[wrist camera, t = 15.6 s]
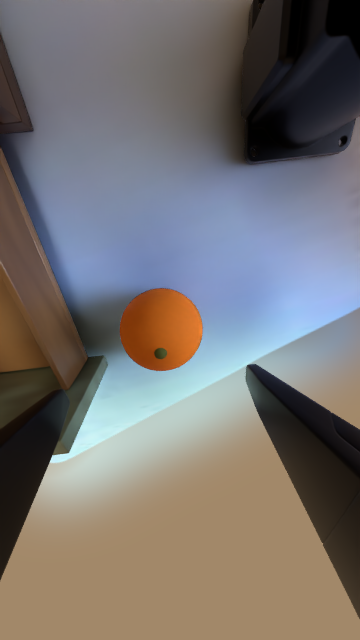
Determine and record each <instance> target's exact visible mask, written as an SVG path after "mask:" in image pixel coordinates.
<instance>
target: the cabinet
mask: <svg viewBox="0 0 360 640" xmlns="http://www.w3.org/2000/svg"><path fill="white" fill-rule="evenodd" d="M32 130H33V128H32V125H31V122H30V119H29V116H28V113H27V111H26V108H25V105H24V102H23V99H22V96H21V93H20V90H19V87H18V84H17V81H16V79H15V76H14V73H13V70H12V67H11V64H10V61H9V58H8V55H7V52H6V50H5V47H4V44H3V41H2V38H1V35H0V134H6V133H14V132H23V131H32Z"/></svg>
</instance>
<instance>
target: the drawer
mask: <svg viewBox="0 0 360 640" xmlns="http://www.w3.org/2000/svg"><path fill="white" fill-rule="evenodd" d="M107 366H108V364H107V361H106V358H105V356H104V355H102V356H94V357H88V356H87V353H86V351H85V348H84V346H83V344H82V341H81V339H80V336H79V334H78V332H77V329H76V327H75V324H74V322H73V320H72V317H71V315H70V312H69V310H68V308H67V305H66V303H65V300H64V298H63V296H62V293H61V291H60V288H59V286H58V283H57V281H56V279H55V276H54V274H53V271H52V269H51V267H50V264H49V262H48V259H47V257H46V255H45V252H44V250H43V247H42V245H41V243H40V240H39V238H38V235H37V233H36V231H35V228H34V226H33V223H32V221H31V219H30V216H29V214H28V211H27V209H26V207H25V204H24V202H23V199H22V197H21V194H20V192H19V190H18V187H17V185H16V182H15V180H14V178H13V175H12V173H11V170H10V168H9V166H8V163H7V161H6V158H5V156H4V154H3V151H2V149H1V146H0V429H1V428H2V427H3V426H5V425H6V424H8V423H9V422H10V421H12V420H13V419H14V418H16V417H17V416H18V415H20V414H21V413H23V412H24V411H25V410H27V409H28V408H29V407H31V406H32V405H33V404H35V403H36V402H38V401H39V400H40V399H42V398H43V397H44V396H46V395H47V394H48V393H50V392H51V391H53V390H56V389H63V390H64V391H65V392H66V394H67V396H68V398H69V400H70V406H69V409H68V413H67V416H66V419H65V422H64V425H63V429H62V432H61V435H60V438H59V440H58V443H57V445H56V448H55V450H54V453H53V455H57V454H65V453H69V451H70V449H71V447H72V445H73V443H74V440H75V438H76V436H77V434H78V431H79V429H80V427H81V425H82V422H83V420H84V418H85V416H86V413H87V411H88V409H89V407H90V404H91V402H92V400H93V398H94V395H95V393H96V391H97V389H98V386H99V384H100V382H101V380H102V377H103V375H104V373H105V371H106V368H107Z"/></svg>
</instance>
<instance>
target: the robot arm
mask: <svg viewBox="0 0 360 640" xmlns="http://www.w3.org/2000/svg"><path fill="white" fill-rule="evenodd" d="M259 3H261V4H263V6H262V8H261V10H260V9H259V8H258V4H259ZM241 115H242V117H243V119H244V120H246V122H245V148H244V157H245V160H246V162H247V163H249V164H255V163H263V162H272V161H280V160H289V159H297V158H306V157H314V156H323V155H331V154H337V153H339V152H341V151H344V150H345V149H346V148H347V147H348V145H349V143H350V141H351V137H352V132H353V128H354V124H355V119H356V118H357V117H359V116H360V0H253V2H252V4H251V8H250V18H249V39H248V41H247V44H246V46H245V48H244V52H243V80H242V112H241ZM339 139H341V145H340V146H339ZM251 149H255V151H256V156H255V157H253V156H252V155H251ZM246 382H247V385H248V388H249V391H250V393H251V396H252V399H253V401H254V404H255V407H256V409H257V412H258V414H259V416H260V418H261V420H262V422H263V424H264V426H265V429H266V430H267V433H268V435H269V437H270V438H271V441H272V443H273V445H274V447H275V448H276V451H277V453H278V455H279V457H280V459H281V461H282V463H283V465H284V467H285V469H286V471H287V473H288V475H289V477H290V479H291V481H292V483H293V485H294V487H295V489H296V491H297V493H298V495H299V497H300V499H301V501H302V503H303V505H304V507H305V509H306V511H307V513H308V515H309V517H310V519H311V521H312V523H313V525H314V527H315V529H316V531H317V533H318V535H319V537H320V540H321V542H322V543H323V546H324V548H325V550H326V552H327V554H328V556H329V558H330V560H331V562H332V564H333V566H334V568H335V570H336V572H337V574H338V576H339V578H340V580H341V582H342V584H343V586H344V588H345V590H346V592H347V594H348V596H349V598H350V600H351V602H352V604H353V606H354V609H355V610H356V613H357V615H358V617H359V618H360V429H358V428H356V427H355V426H353V425H351V424H350V423H348V422H346V421H345V420H343V419H341V418H340V417H338V416H336V415H335V414H334V413H331V412H330V411H329V410H327V409H326V408H324V407H323V406H321V405H319V404H318V403H316V402H315V401H313V400H311V399H310V398H308V397H307V396H305V395H303V394H302V393H300V392H299V391H297V390H296V389H294V388H292V387H291V386H289V385H288V384H286V383H285V382H283V381H281V380H280V379H278V378H277V377H275V376H274V375H272V374H270V373H269V372H267V371H266V370H264V369H262V368H261V367H259V366H258V365H256V364H250V365H247V367H246ZM69 406H70V400H69V398H68V396H67V394H66V392H65V391H64V390H63V389H56V390H53V391H51V392H50V393H48V394H47V395H46V396H44V397H43V398H42V399H40V400H39V401H38V402H36V403H35V404H33V405H32V406H31V407H29V408H28V409H27V410H25V411H24V412H23V413H21V414H20V415H18V416H17V417H16V418H14V419H13V420H12V421H10V422H9V423H8V424H6V425H5V426H3V427H2V428H1V429H0V580H1V577H2V575H3V573H4V570H5V568H6V565H7V563H8V561H9V558H10V556H11V554H12V551H13V549H14V546H15V544H16V542H17V539H18V537H19V534H20V532H21V529H22V527H23V525H24V522H25V520H26V517H27V515H28V513H29V510H30V508H31V505H32V503H33V501H34V498H35V496H36V493H37V491H38V488H39V486H40V484H41V481H42V479H43V477H44V474H45V472H46V469H47V467H48V465H49V462H50V460H51V457H52V455H53V453H54V450H55V448H56V445H57V443H58V440H59V438H60V435H61V432H62V429H63V425H64V422H65V419H66V416H67V413H68V409H69Z"/></svg>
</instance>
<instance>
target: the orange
mask: <svg viewBox="0 0 360 640" xmlns="http://www.w3.org/2000/svg"><path fill="white" fill-rule="evenodd" d="M120 337H121V342H122V345H123V347H124V349H125V351H126V353H127V354H128V355H129V357H130V358H131V359H132V360H133V361H135V362H136V363H137V364H139V365H140V366H142V367H144V368H147V369H150V370H156V371H167V370H172V369H175V368H177V367H180V366H181V365H183V364H185V363H186V362H187V361H188V360H190V359H191V358H192V356H193V355H194V354H195V352H196V351H197V349H198V347H199V345H200V342H201V339H202V320H201V317H200V314H199V312H198V310H197V308H196V307H195V305H194V304H193V303H192V301H191V300H189V299H188V298H187V297H186V296H184V295H183V294H181V293H179V292H177V291H174V290H171V289H164V288H159V289H152V290H148V291H146V292H143V293H141V294H140V295H138V296H137V297H135V298H134V299H133V300H132V301H131V302H130V303H129V304H128V306H127V307H126V309H125V310H124V313H123V315H122V318H121V322H120Z"/></svg>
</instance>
